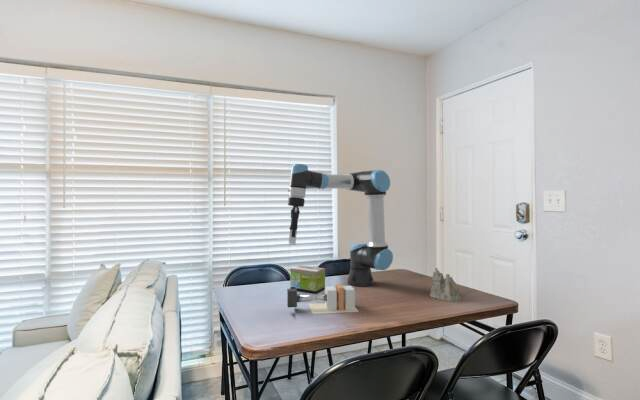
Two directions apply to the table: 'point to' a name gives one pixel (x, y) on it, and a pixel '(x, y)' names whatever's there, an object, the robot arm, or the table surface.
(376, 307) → the table surface
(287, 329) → the table surface
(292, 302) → the shaft
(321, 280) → the tea box
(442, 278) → the grey rock formation
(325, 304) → the shaft housing
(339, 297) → the block
